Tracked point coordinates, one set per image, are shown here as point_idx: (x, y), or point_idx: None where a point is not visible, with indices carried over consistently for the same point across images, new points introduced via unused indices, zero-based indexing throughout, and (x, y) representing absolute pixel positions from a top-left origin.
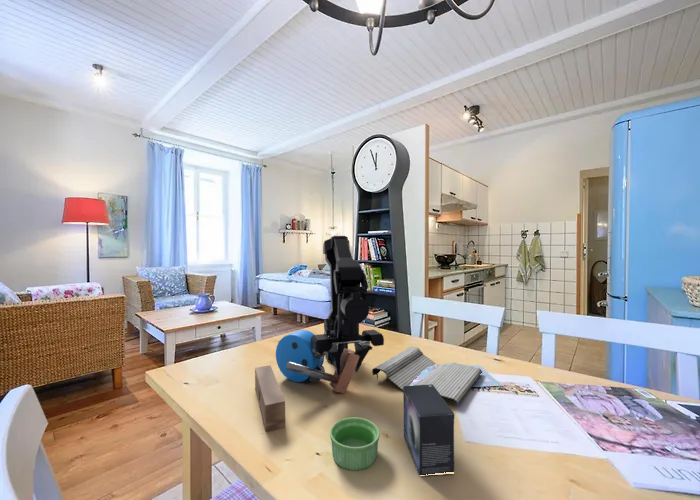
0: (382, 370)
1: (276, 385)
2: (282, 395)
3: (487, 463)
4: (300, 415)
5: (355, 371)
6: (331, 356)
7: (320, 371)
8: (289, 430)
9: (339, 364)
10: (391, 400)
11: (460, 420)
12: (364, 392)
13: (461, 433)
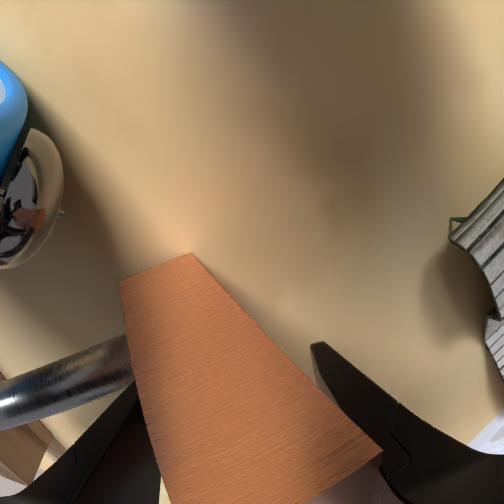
0: (499, 312)
1: None
2: (6, 467)
3: None
4: (64, 412)
5: (313, 364)
6: (53, 482)
7: (35, 416)
8: (66, 444)
9: (154, 491)
10: (407, 390)
11: (476, 437)
12: (330, 334)
13: None
